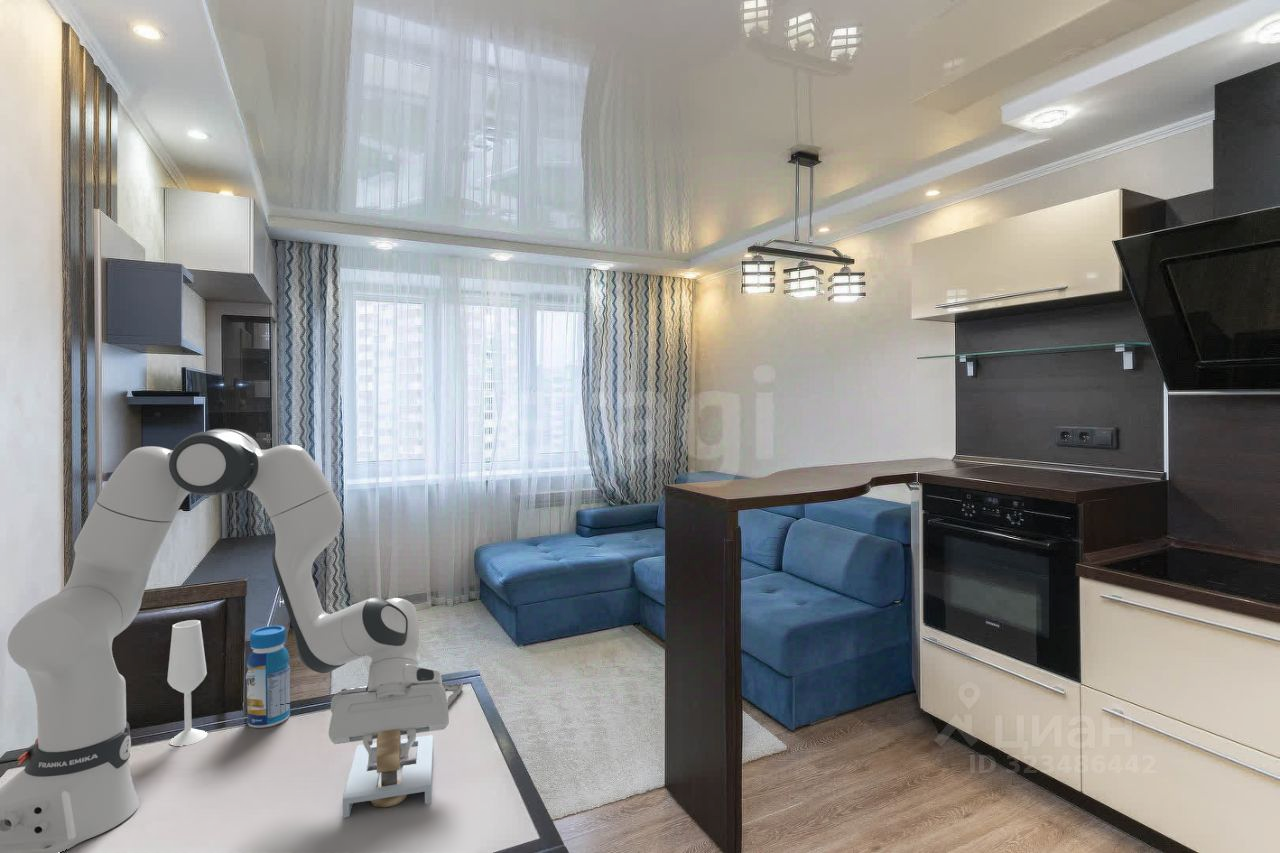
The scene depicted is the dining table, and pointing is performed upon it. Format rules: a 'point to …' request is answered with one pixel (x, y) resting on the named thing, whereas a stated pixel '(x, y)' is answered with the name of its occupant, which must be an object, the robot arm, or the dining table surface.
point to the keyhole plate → (366, 783)
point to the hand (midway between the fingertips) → (388, 761)
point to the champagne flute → (187, 673)
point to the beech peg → (388, 764)
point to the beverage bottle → (268, 678)
